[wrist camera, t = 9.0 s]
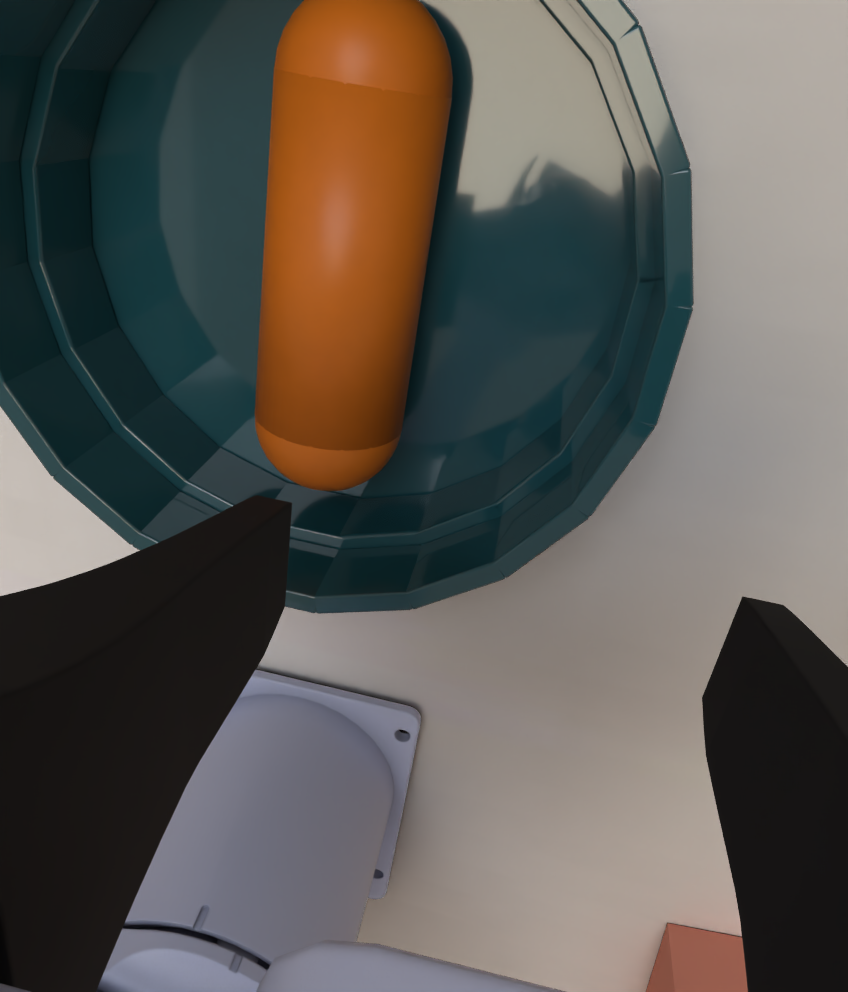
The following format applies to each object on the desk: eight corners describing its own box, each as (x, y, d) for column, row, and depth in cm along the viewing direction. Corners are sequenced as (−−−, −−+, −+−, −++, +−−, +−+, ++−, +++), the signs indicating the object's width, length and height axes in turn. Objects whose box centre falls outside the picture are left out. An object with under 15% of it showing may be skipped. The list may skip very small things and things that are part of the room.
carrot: (390, 458, 22) (394, 525, 19) (259, 444, 22) (242, 510, 19) (457, 0, 17) (478, -12, 14) (288, -31, 17) (270, -51, 14)
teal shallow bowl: (577, 562, 23) (578, 675, 19) (85, 454, 24) (-25, 536, 20) (759, -65, 16) (829, -123, 12) (51, -175, 17) (-131, -266, 13)
